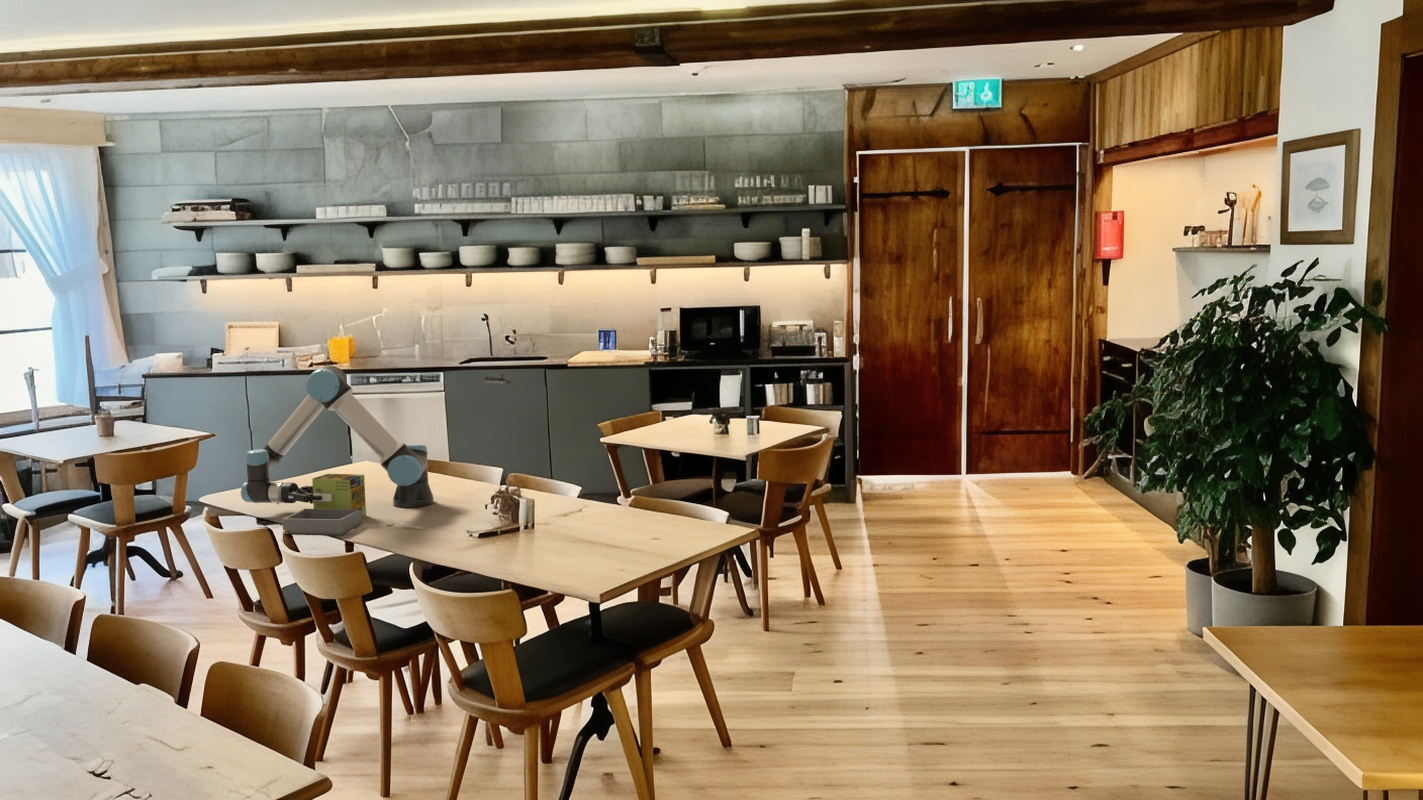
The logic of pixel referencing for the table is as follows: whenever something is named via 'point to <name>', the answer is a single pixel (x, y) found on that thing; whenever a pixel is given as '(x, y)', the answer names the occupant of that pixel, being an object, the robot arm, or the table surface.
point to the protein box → (341, 491)
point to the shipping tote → (322, 522)
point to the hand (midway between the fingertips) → (339, 493)
